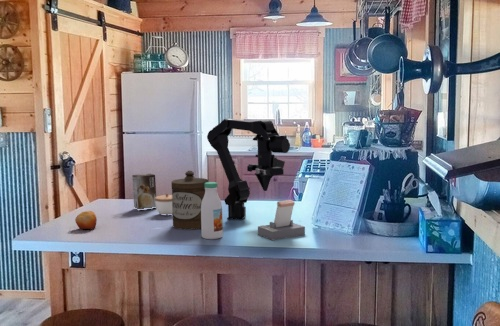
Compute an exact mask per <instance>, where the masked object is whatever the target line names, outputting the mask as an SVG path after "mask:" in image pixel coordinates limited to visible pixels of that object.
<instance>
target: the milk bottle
mask: <svg viewBox="0 0 500 326" xmlns="http://www.w3.org/2000/svg"><path fill="white" fill-rule="evenodd" d="M223 222H224V221H223V204H222V200H221V199H220V196H219V194H218V182H215V181H208V182H206V183H205V195H204V198H203V200H202V203H201V229H200V230H201V238H203V239H206V240H217V239H221V238H223V235H224V230H223V228H224V227H223V226H224V223H223Z"/></svg>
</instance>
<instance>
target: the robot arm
mask: <svg viewBox="0 0 500 326" xmlns="http://www.w3.org/2000/svg"><path fill="white" fill-rule="evenodd" d="M232 130H241V131H248V132H251V133H252V134H254V135H255V137H253V138H252V141H257V143H256V144H257V146H256V147H257V154H255V158H257V163H248V165H247V166H246V167H247V168H246V169H247V172H253V171H255V173H254V175H255V176H256V178H257V180H258V182H259V184H260V186H261V188H262V191H264V192H267V191H268V188H269V185H270V182H271V180H272V178H273V177H274V176H283V175H284V173H285V170H284V167H285V164H286V162H285V160H281V159H279V158H277V157H276V155H275V153H278V154H279V153H280V154H288V153H289V151H290V148H291V143H290V141H289V139H288V138H287V137H288V136H287V135H280V134H279V133H278V132H279V131H277V129H276V127H275V125H274V123H273V121H272V120H270V119H265V120H255V121H251V120H243V119H234V118H224V119H222V121H221V122H220V123H218V124H217V125H215V126H214V127H213V128H212V129H211V130H209V131H208V133H207V136H206V138H207V141H208V143H209V145H210V146H211V147H212V148H213V149H214V150H215V151H216V153H217V155H218V159H219V160H220V162H221V163H220V164H221V166H222V168H223V171H224V174H225V176H226V178H227V181H228V188H227V190H228V195H227V196H226V197H225V199H224V204H225V206H226V205H227V212H228V216H227V217H226V219H227V220H244V219H245V217H247V215H246V209H247V208H246V206H245V204H246V203H247V201H248V199H249V197H250V194H251V192H250V191H251V188H250V187H249V183H248V182H247V180H243V179H242V178H240V174H239V172H238V170H237V168H236V165H235V161H234V159H233V157H232V154H231V152H230V150H229V136H230V135H231V133H232ZM273 153H274V154H273Z"/></svg>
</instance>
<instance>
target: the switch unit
mask: <svg viewBox="0 0 500 326" xmlns="http://www.w3.org/2000/svg"><path fill="white" fill-rule="evenodd" d="M257 235H259V236H261V237H263V238H266V239H269V240H271V241H275V240H276V241H277V240H282V239H283V240H284V239H288V238H294V237H299V236H305V235H306V227H305V226H304V225H301V224H298V223H295V222H294V221H293V219H291V220H290V225H289V226H282V227H276V228H275V223H274V221H269V224H265V225H259V226H257Z"/></svg>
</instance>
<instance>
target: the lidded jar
mask: <svg viewBox="0 0 500 326" xmlns="http://www.w3.org/2000/svg"><path fill="white" fill-rule="evenodd" d="M155 205H156V209H155V210H157V211H156V212H158V213H159V214H160V215H161V214H166V215H168V214H172V194H169V193H167V192H166V193H165V194H163V195H156V197H155Z"/></svg>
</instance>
